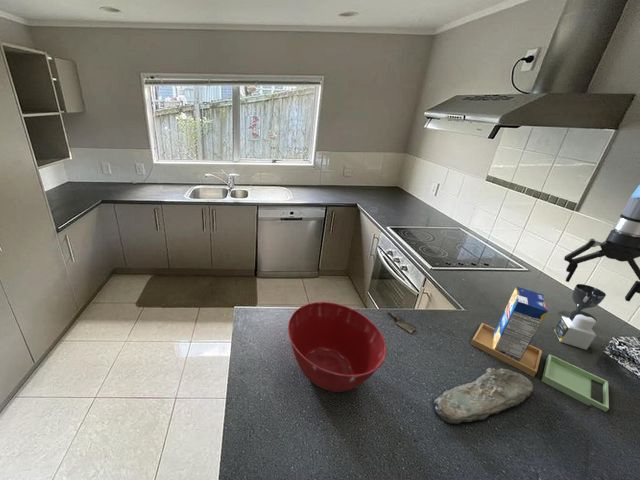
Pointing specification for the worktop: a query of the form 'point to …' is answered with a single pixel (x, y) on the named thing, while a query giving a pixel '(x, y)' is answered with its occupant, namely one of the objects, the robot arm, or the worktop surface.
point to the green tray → (573, 381)
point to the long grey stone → (483, 396)
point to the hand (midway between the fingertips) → (595, 289)
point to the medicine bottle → (576, 329)
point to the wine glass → (586, 297)
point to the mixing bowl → (335, 345)
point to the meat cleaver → (401, 323)
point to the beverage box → (519, 323)
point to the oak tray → (526, 364)
